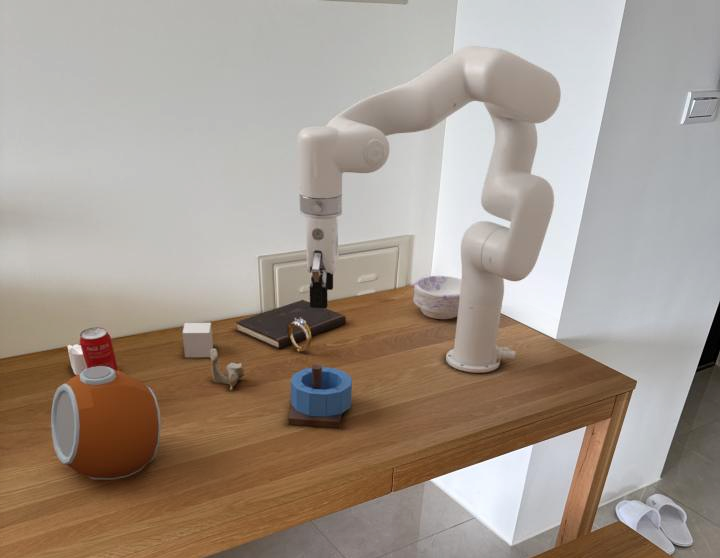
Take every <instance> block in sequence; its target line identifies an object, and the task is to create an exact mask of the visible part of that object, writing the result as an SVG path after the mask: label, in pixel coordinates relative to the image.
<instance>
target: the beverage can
mask: <svg viewBox="0 0 720 558" xmlns="http://www.w3.org/2000/svg"><path fill="white" fill-rule="evenodd" d="M79 345H81V349H82V352H83V356H84V360H85V364H86V368H87V369H88V368H91V367H97V366H104V367H110V368H112V369H113V370H116V371H119V368H118V363H117V359H116V355H115V350H114V345H113V342H112V337H111V336H110V334H109V333H108V331H107V329H106V328H104V327H101V326H99V327H98V326H97V327H96V326H95V327H90V328H85V329H84V330H82V331H81V332H80V334H79Z"/></svg>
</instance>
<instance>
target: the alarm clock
mask: <svg viewBox="0 0 720 558" xmlns="http://www.w3.org/2000/svg"><path fill="white" fill-rule="evenodd" d="M50 417H51V419H50V425H51V426H50V427H51V438H52V442H53V443H52V444H53V448H54V451H55V454H56V456H57V458H58V460H59V461H60V462H61V463H62V464H63V465H66V466H67V467H68V468H70V469H72V470H73V471H75V472H76V473H77V474H80V475H82V476H85V477H87V478H89V479H90V480H101V481H103V480H106V481H108V480H109V481H111V480H119V479H122V478H123V479H124V478H128V477H130V476H132V475H134V474H136V473H139V472H141V470H143V468H144V467H146V466H147V464H150V463H151V462H152V461H153V460H154V458H155V456H156V455H157V452H158V449H159V445H160V442H161V432H162V431H161V430H162V423H161V422H162V421H161V411H160V407H159V403H158V399H157V396H156V395H155V393H154V392H153V390H152V388H150V387H149V386H147V385H146V384H145V383H143V382H142V381H141V380H139V379H137V378H135V377H134V376H131V375H130V374H127V373H124V372H123V371H121V370H118V371H116V370H113V369H112V368H110V367H104V366H97V367H91V368H88V369H85V370H84V371H83V372H81V373H80V374H78V375H75V376H73V377H72V378H70V379H69V380H68V381H66V382H64V383H63V384H61V385H60V386H58V387H57V388H56V390H55V393H54V396H53V399H52V405H51V415H50Z"/></svg>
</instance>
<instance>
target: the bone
mask: <svg viewBox="0 0 720 558" xmlns="http://www.w3.org/2000/svg"><path fill="white" fill-rule="evenodd" d="M218 355H219V354H218V350H217V348H214V347H213V349H212V350H211V351H210V357H209V358H210V361H211V362H210V364H211V376H212V380H213V382H214V383H218V384H227V385H230V388H229V390H230V391H233V389H234V386H235V385H236V384H237V383H238V381H240V379H242V378H243V377H245V375H246V374H245V372H244V369H245V366H244V365H243V364H242V362H240V363H235V362H230V363H229V364H227V365H226V366H225V374H226V375H224V374H223V373H222V372H221V371H220V369H219V364H218V361H219V356H218Z"/></svg>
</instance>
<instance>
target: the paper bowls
mask: <svg viewBox="0 0 720 558" xmlns="http://www.w3.org/2000/svg"><path fill="white" fill-rule="evenodd" d="M461 281H462V278H457V277H454V276H447V275H429V276H424V277H421V278H418V279H417V280H416V281H415V283H414V287H413V288H414V289H413V298H412V299H413V303H414V305H415V306H416V307H418V309H419V308H420V311H421V312H422V314H423V315H425V317H428V318H431V319H434V320H452V319H455V318H457V317H458V308H459V299H460V291H461Z"/></svg>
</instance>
